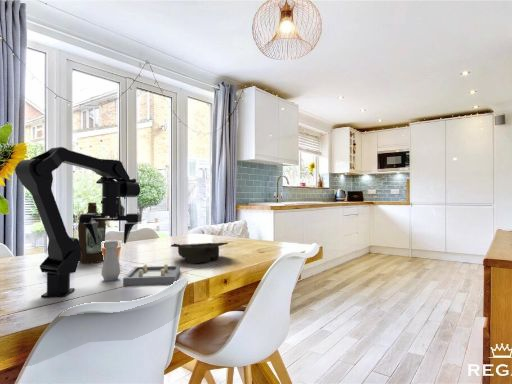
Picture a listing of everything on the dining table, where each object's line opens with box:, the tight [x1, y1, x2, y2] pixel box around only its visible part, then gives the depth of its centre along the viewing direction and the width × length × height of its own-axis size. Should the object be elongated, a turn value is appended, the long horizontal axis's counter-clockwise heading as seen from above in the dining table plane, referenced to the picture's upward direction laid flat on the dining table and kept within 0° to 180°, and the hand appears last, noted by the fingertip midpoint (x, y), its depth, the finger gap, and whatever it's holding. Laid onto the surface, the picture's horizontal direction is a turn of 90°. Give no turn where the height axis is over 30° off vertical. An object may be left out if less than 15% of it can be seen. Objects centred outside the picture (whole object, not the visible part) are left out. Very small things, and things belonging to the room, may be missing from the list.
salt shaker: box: [101, 240, 121, 282], centre depth 110 cm, size 6×6×13 cm
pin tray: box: [122, 263, 181, 286], centre depth 112 cm, size 16×16×4 cm
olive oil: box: [77, 202, 107, 265], centre depth 139 cm, size 11×11×25 cm
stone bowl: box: [170, 242, 229, 265], centre depth 144 cm, size 25×25×9 cm
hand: (110, 243), depth 110 cm, fingers open, 9 cm apart
